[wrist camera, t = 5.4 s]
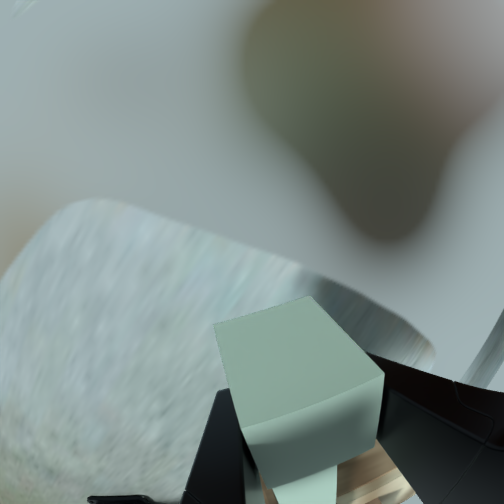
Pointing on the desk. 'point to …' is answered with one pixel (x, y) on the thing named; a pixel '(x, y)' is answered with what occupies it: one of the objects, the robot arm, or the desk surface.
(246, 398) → the key
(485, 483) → the robot arm
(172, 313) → the desk surface
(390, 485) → the lid
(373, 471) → the box
